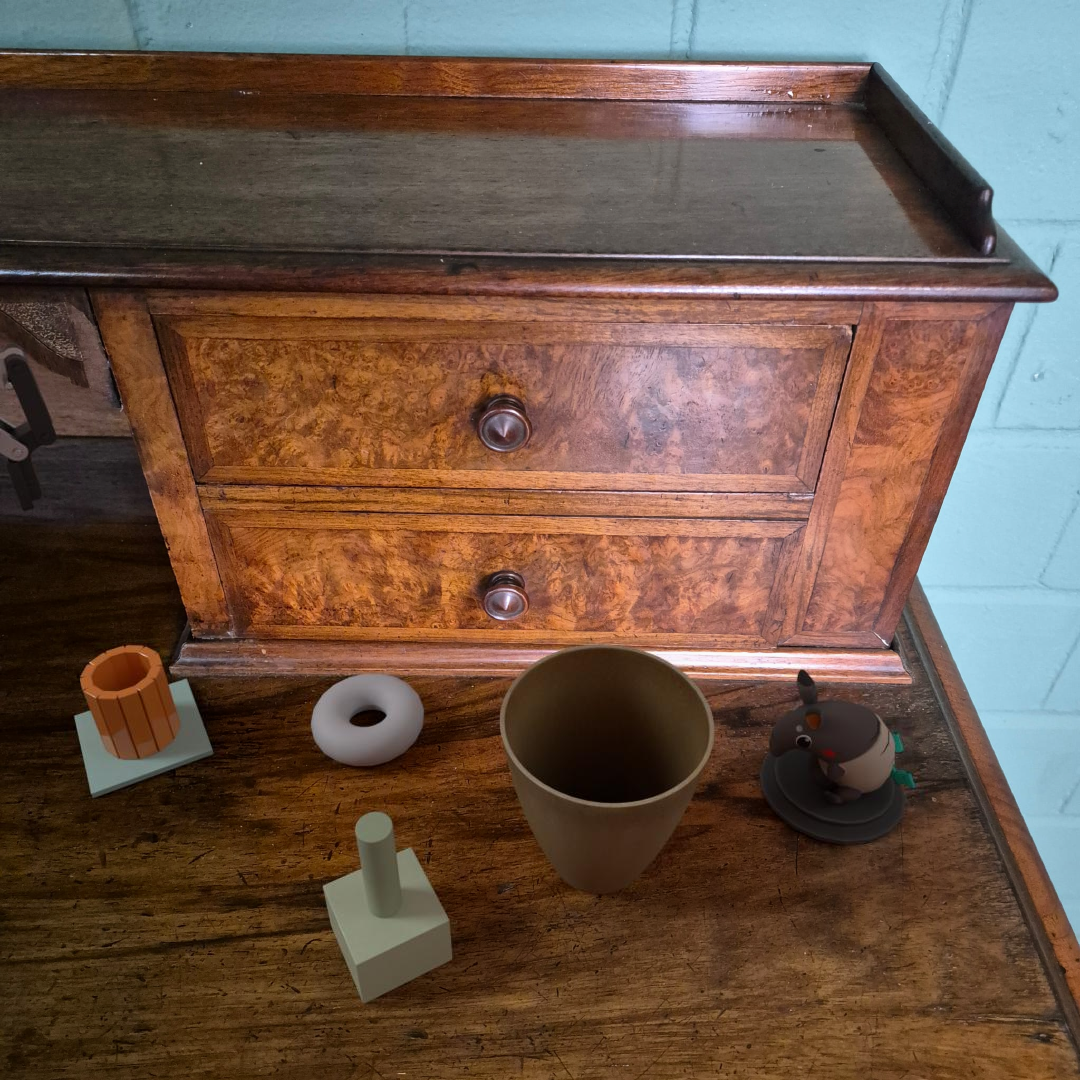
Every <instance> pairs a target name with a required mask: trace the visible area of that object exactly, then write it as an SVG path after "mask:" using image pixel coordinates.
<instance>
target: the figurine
mask: <svg viewBox="0 0 1080 1080" xmlns="http://www.w3.org/2000/svg"><path fill="white" fill-rule="evenodd" d="M796 688H797V691H798V694H799V697H800V698H801V701H802V703H803V704H801V705H797V706H794V707H793V708H792V709H791V710H788V711H787V712H786V713H785V714H784V715H783V716H781V717H780V718H779V719H778V720H777V721H776V722H775V724H774V726H773V727H772V729H771V732H770V734H769V740H768V749H769V752H767V754H766V755H765V756H764V759H763V762H762V765H761V768H760V771H759V774H758V776H759V777H758V778H759V782H760V789H761V795H762V796H763V797H764V799H765V801H766V802H767V804H768V806H769V807H770V809H771V810H772V812H773V813H774V814H776V815H777V816H778V817H779V818H780V819H781V820H783V821H784V822H785V823H786V824H787V825H788V826H790V827H791V828H792V829H793V830H796V831H798V832H800V833H803V834H805V835H807V836H808V837H811V838H813V839H815V840H818V841H823V842H829V843H833V844H838V845H855V844H857V845H858V844H867V843H871V842H874V841H876V840H878V839H881V838H883V837H885V836H887V835H889V834H890V833H891V832H892V831H893V830H894V829H895V827H896V826H897V825H898V824H899V823H900V822H901V820H902V818H903V815H904V811H905V810H904V809H905V804H906V799H907V798H906V795H905V792H904V787H903V785H904V786H906V787H908V789H910V790H916V784H915V781H914V779H913V776H912V774H911V771H910V770H901V769H900V770H899V769H896V767H895V764H896V763H895V761H896V759H895V758H896V757H895V756H896V753H897V754H902V753H904V747H903V744H902V741H901V739H900V736H899V733H898V731H897V730H895V731H893V732H890V730H889V728H888V727H887V725H886V724H885V722H884V721H883V719H882V718H881V717H880V716H879V715H878V714H877V713H875V712H874V711H872V710H871V709H869V708H868V707H867V706H865V705H861V704H858V703H856V702H853V701H848V700H842V699H841V700H840V699H823V700H819V693H818V688H817V685H816V682H815V681H814V679H813V677H812V676H811V675H810V674H809V673H808V672H807V670H805V669H800V670H798V672H797V676H796Z"/></svg>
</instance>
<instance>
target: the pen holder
mask: <svg viewBox="0 0 1080 1080" xmlns="http://www.w3.org/2000/svg"><path fill="white" fill-rule="evenodd" d="M163 665H164V664H163V663H162V659H161V656H160V654H159V653H158V652H157V651H155V650H153V649H152V648H150V647H147V646H144V645H133V644H132V645H131V644H130V645H129V644H127V645H126V646H124V645H121V646H119V647H115V648H111V649H109V650H106V651H105V652H102V653H101V654H98V656H97V657H95V658H93V659H92V660H90V661H89V662H88V664H86V666H85V667H84V670H83V671H82V673H81V675H80V678H79V680H80V685H81V690H82V692H83V695H84V698H85V700H86V702H87V705H88V708H89V711H91V714H92V716H93V719H94V721H95V724H96V726H97V729H98V732H99V734H100V737H101V739H102V742H103V745H104V747H105V750H107V752H108V753H110V754H111V755H113V756H115V757H116V758H118V759H119V758H121V759H136V760H137V759H138V757H140V759H142V758H145V757H148V756H151V755H154V754H156V753H158V751H157V750H159V751H162V750H163V749H164V748H165V747H166V746H168V745H169V744H170V743H171V742H172V741H173V739H175V738H176V735H177V733H178V731H179V728H180V724H181V723H180V720H179V717H178V714H177V710H176V707H175V704H174V701H173V697H172V694H171V691H170V688H169V684H170V683H169V682H168V679H167V675H166V672H165V669H164V666H163Z"/></svg>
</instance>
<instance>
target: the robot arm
mask: <svg viewBox="0 0 1080 1080" xmlns="http://www.w3.org/2000/svg"><path fill="white" fill-rule="evenodd" d="M29 362H30V361H29V360H28V358H27V355H26V352H25V350H24V348H23V347H22V346H21V345H20V344H17V343H8V344H5V345H4V346H3V347H2V349H1V352H0V389H1V390H3V391H9V392H10V391H13V390H14V392H15V395H16V397H17V399H18V402H19V404H20V406H21V409H22V411H23V414H24V416H25V418H26V421H25V422H23V423H22V424H20V425H15V424H13V423H12V422H10V421H8V420H7V419H5V418H4V417H2V416H0V454H1V455H3V456H4V460H5V465H6V468H7V471H8V474H9V477H10V479H11V482H12V485H13V487H14V490H15V493H16V495H17V498H18V501H19V503H20V507H21V509H22V511H23V512H27V511H32V510H35V509H36V506H35V503H34V501H37V500H40V499H41V498H42V492H43V491H42V487H41V483H40V479H39V477H38V474H37V471H36V468H35V466H34V462H33V460H32V457H31V456H32V453H33V452H34V451H35V450H36V449H38V448H40V447H42V446H43V447H44V446H46V447H48V446H51V445H53V444H54V443H56V441H57V438H58V437H57V433H56V429H55V427H54V425H53V419H52V417H51V414H50V411H49V409H48V407H47V404H46V402H45V399H44V397H43V394H42V393H41V389H40V387H39V385H38V382H37V379H36V377H35V375H34V372H33V369H32V367H31V364H30V363H29Z"/></svg>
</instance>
